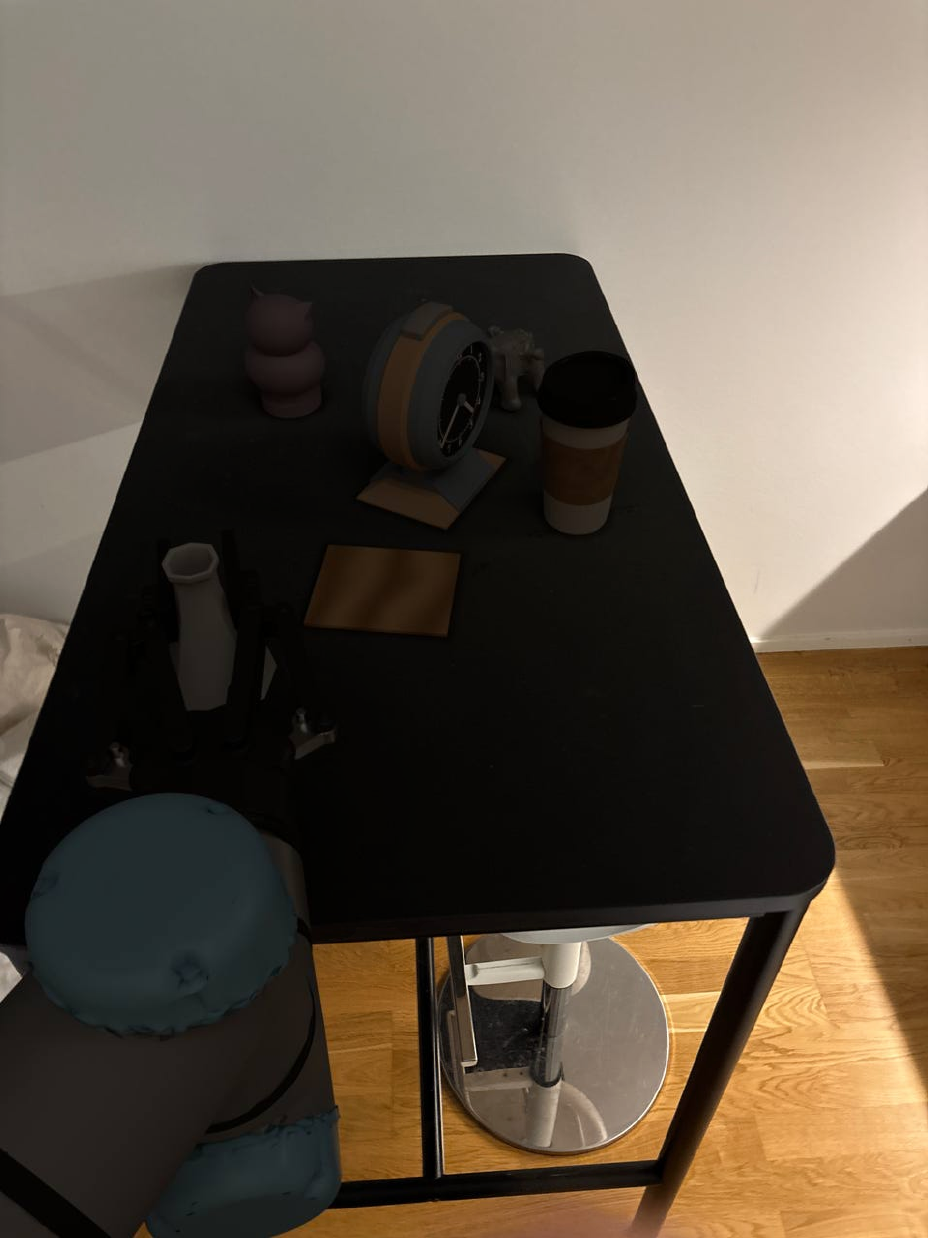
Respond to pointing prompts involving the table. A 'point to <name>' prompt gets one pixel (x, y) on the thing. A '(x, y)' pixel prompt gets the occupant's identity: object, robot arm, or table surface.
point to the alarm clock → (429, 414)
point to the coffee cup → (583, 436)
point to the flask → (203, 628)
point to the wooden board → (384, 590)
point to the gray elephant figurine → (514, 362)
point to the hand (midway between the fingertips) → (199, 551)
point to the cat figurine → (283, 354)
